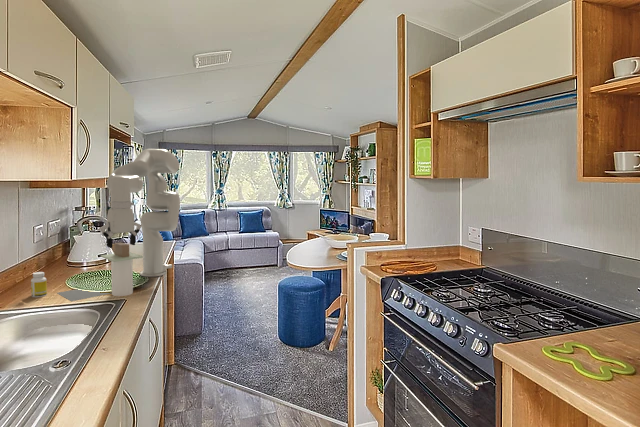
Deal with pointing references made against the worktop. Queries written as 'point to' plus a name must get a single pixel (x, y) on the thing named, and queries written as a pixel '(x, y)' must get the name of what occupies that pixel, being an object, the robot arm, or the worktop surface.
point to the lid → (121, 253)
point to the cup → (122, 277)
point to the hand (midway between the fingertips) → (121, 246)
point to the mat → (79, 294)
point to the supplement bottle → (38, 285)
